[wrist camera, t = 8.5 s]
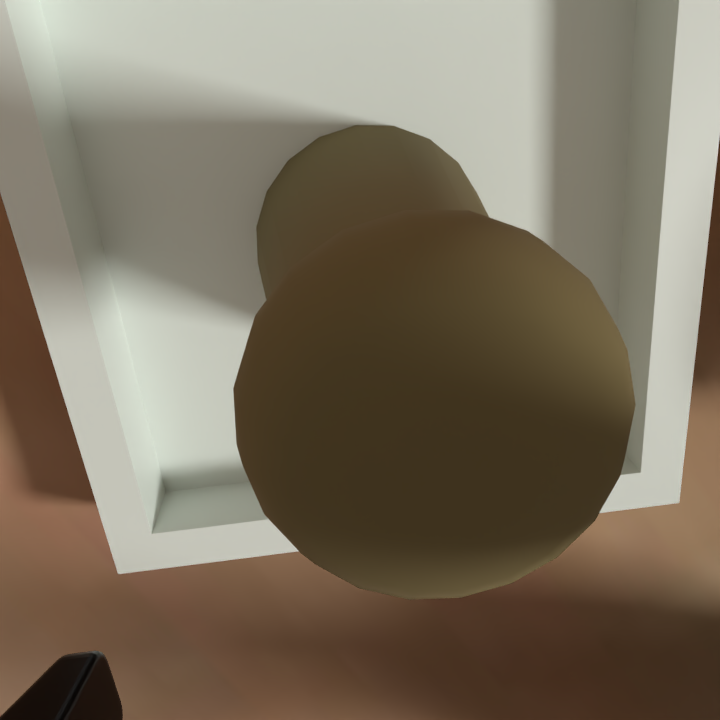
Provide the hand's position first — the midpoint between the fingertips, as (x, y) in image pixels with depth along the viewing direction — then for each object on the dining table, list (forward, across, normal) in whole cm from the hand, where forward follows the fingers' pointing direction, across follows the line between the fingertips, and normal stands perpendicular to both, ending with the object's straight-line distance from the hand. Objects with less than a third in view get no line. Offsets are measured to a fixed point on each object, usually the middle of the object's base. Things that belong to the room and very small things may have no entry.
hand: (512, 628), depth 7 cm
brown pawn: (+12, 0, -2) cm, 12 cm away
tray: (+13, 0, -2) cm, 13 cm away
